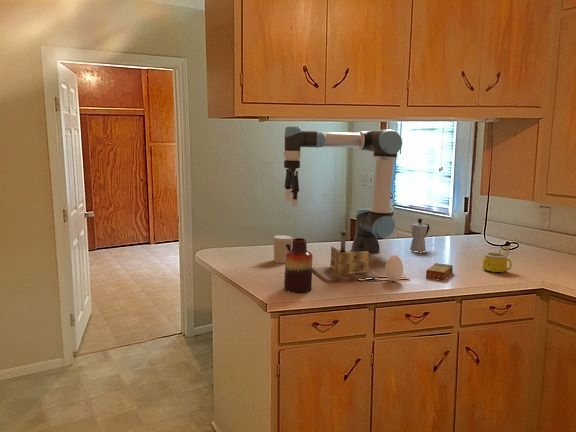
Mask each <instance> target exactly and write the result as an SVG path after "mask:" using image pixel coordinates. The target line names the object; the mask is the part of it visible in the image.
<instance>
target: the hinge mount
mask: <svg viewBox="0 0 576 432" xmlns="http://www.w3.org/2000/svg"><path fill="white" fill-rule="evenodd" d="M330 247H331V248H330V266H319V267H312V273H313V274H315V275H317V276H318V278H320V279H322V280H323V281H324V282H326V283H343V282H346V283H347V282H356V281H355V280H359V279H366V278H379V277H380V276H379V275H376V273H373V272H371V271H370V270H369V255H370V254H369V251H362V252H354V251H349V250H346V249H345V252H340V251H341V249H340V250H339V249H338V248H336V247H334V246H330Z"/></svg>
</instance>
